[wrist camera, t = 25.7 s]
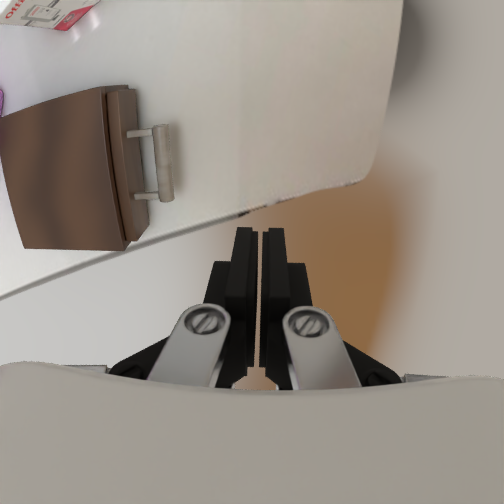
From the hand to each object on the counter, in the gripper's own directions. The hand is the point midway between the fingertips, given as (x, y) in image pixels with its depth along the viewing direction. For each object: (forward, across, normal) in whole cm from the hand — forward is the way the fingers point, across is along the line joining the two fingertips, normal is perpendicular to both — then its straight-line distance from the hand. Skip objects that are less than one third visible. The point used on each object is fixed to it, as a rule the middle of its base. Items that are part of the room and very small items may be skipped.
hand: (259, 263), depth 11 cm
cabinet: (+19, +20, 0) cm, 28 cm away
